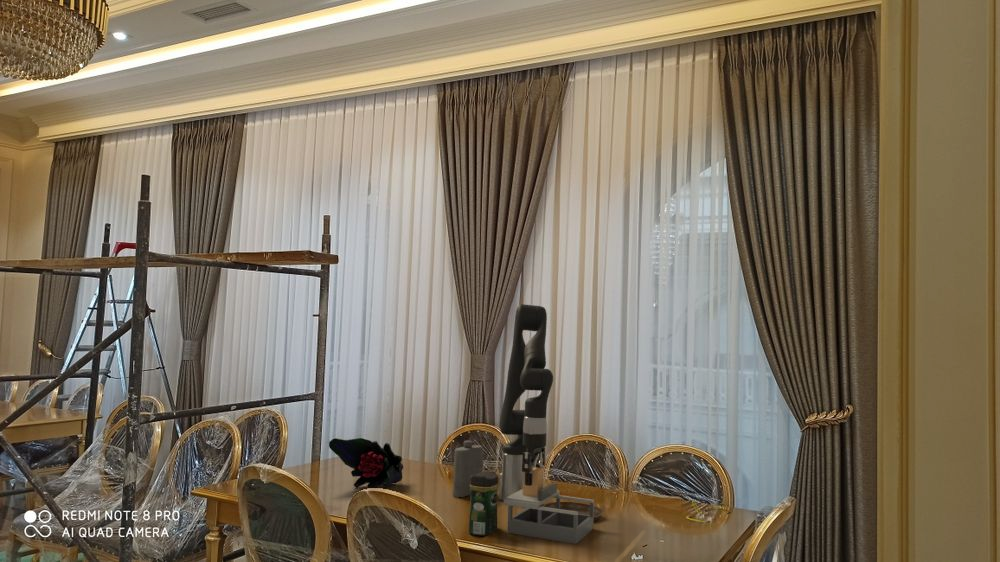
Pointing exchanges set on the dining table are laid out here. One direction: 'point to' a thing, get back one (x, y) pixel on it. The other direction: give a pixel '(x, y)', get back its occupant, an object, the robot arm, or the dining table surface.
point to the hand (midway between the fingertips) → (533, 482)
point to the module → (534, 482)
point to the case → (552, 522)
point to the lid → (533, 497)
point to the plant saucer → (577, 508)
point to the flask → (466, 467)
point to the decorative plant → (369, 461)
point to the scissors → (698, 512)
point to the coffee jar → (483, 503)
